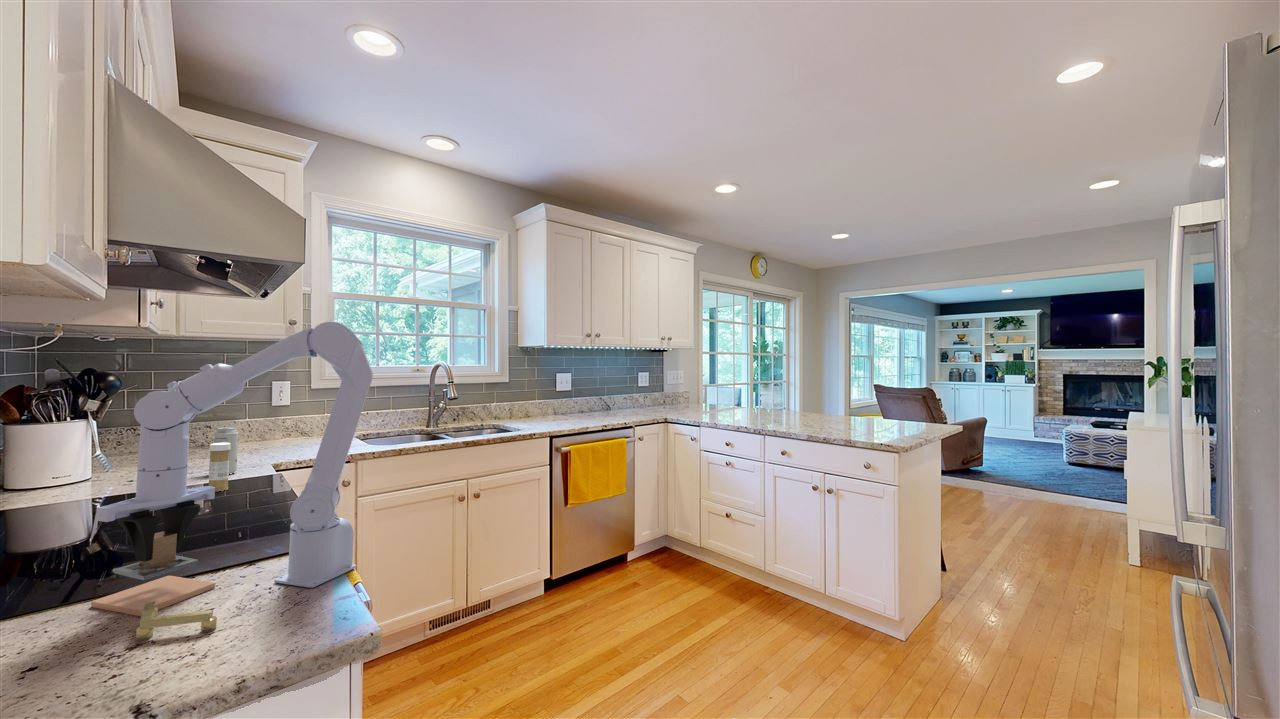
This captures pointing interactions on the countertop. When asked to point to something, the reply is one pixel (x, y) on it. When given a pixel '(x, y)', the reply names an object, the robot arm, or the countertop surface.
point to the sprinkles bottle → (219, 466)
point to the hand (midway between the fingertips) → (157, 555)
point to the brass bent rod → (171, 621)
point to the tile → (153, 594)
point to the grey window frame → (158, 559)
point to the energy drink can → (230, 437)
